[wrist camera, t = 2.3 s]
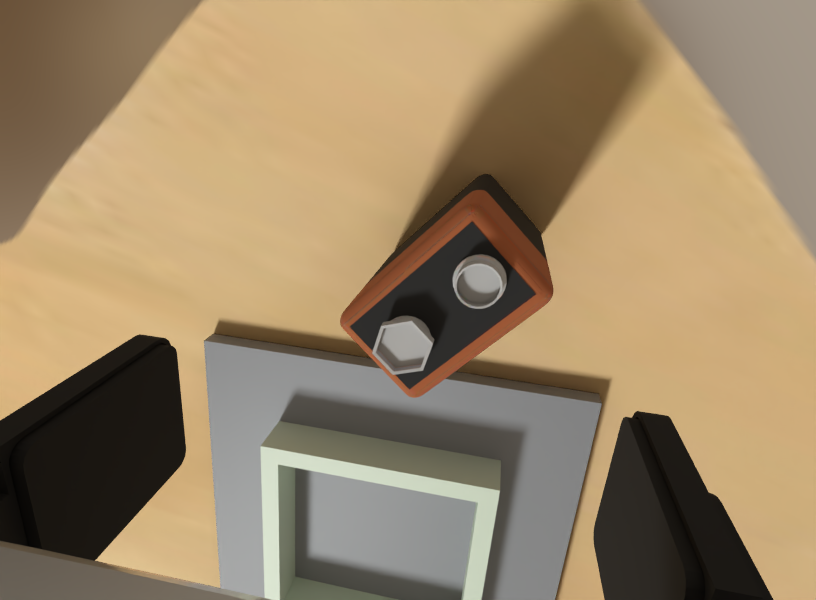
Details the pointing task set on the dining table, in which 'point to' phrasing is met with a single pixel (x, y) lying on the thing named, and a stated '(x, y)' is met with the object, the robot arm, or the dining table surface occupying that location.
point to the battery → (451, 289)
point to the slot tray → (389, 478)
